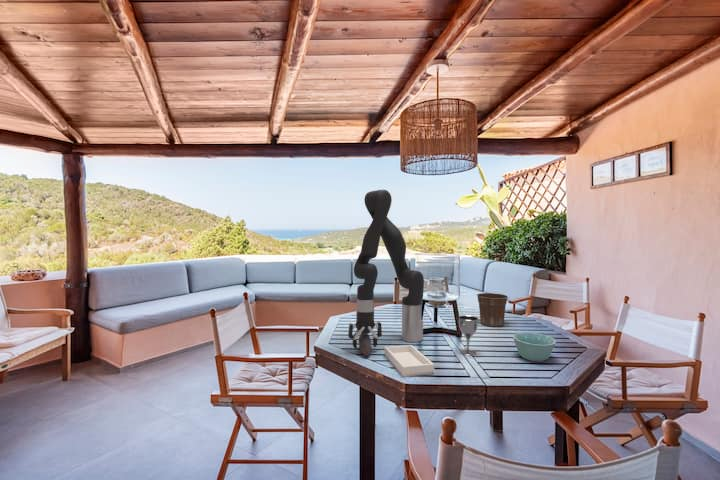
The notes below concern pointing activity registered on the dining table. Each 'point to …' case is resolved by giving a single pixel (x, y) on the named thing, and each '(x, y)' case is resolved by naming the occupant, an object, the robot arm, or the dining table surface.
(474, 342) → the dining table surface
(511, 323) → the dining table surface
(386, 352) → the tray
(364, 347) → the perforated stone tool
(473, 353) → the wine glass
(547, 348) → the bowl
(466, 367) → the dining table surface
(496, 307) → the plant pot
